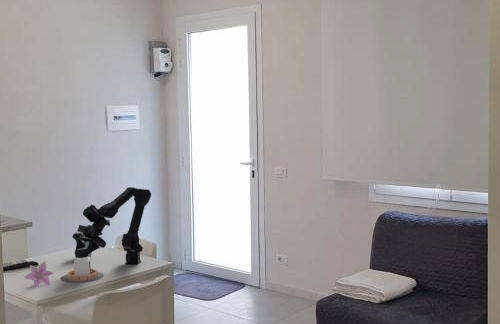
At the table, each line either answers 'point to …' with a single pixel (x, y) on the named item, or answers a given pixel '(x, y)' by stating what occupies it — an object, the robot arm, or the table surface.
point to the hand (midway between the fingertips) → (79, 255)
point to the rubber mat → (64, 279)
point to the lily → (39, 275)
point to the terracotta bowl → (72, 276)
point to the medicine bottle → (81, 263)
